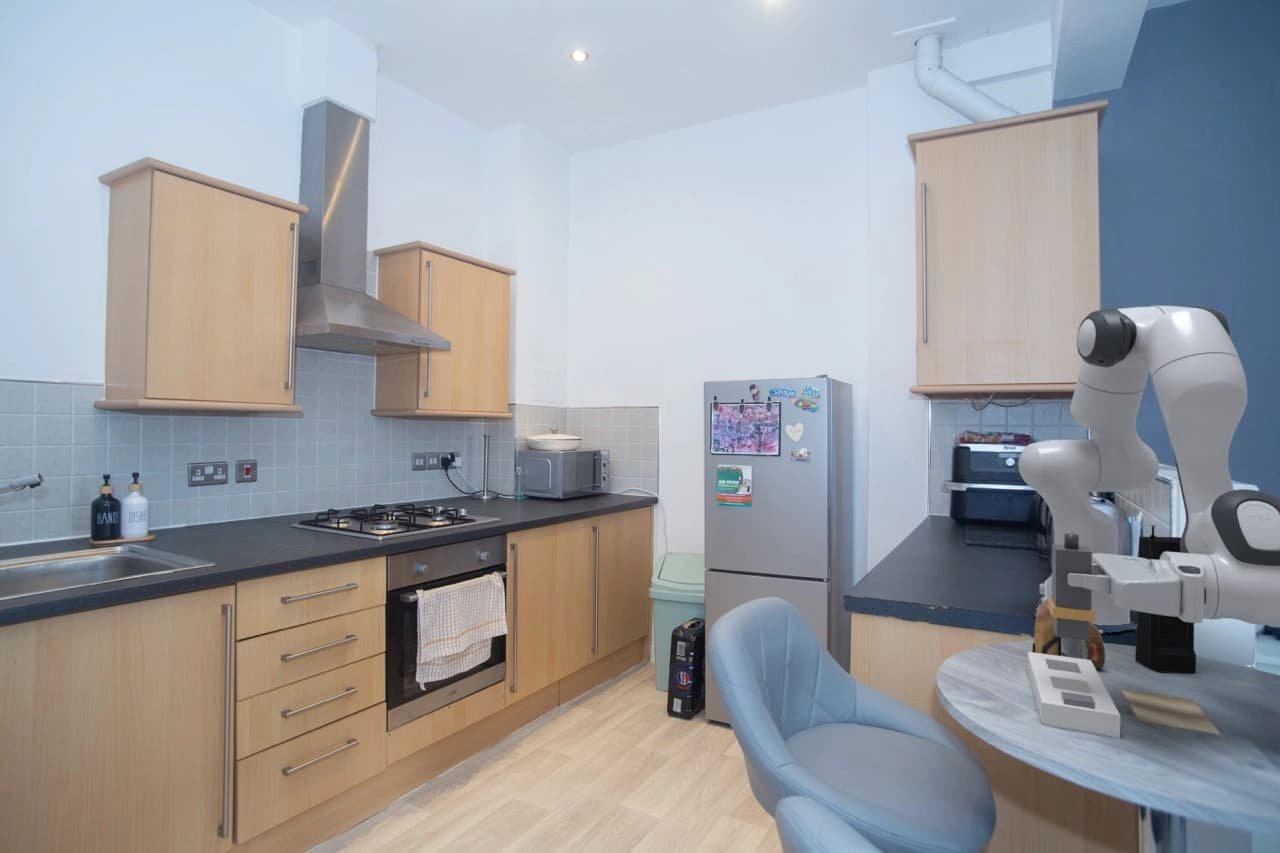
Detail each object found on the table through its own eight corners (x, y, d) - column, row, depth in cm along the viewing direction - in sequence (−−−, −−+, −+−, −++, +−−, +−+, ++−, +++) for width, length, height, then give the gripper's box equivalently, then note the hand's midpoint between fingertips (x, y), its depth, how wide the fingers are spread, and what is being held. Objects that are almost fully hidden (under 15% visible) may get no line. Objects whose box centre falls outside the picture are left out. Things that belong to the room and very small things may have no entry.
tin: (1106, 679, 110) (1107, 629, 110) (1085, 677, 111) (1086, 627, 111) (1067, 647, 125) (1068, 603, 125) (1049, 646, 126) (1049, 602, 126)
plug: (1048, 627, 102) (1049, 530, 101) (1088, 631, 99) (1089, 533, 99) (1052, 637, 97) (1053, 536, 97) (1094, 642, 95) (1095, 539, 94)
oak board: (1120, 695, 104) (1120, 689, 104) (1192, 706, 100) (1192, 699, 100) (1139, 727, 93) (1139, 720, 93) (1221, 741, 89) (1221, 734, 89)
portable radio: (1178, 661, 118) (1180, 522, 118) (1204, 674, 112) (1206, 528, 112) (1132, 659, 119) (1133, 521, 119) (1154, 672, 113) (1156, 527, 113)
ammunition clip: (1044, 676, 111) (1044, 606, 111) (1031, 673, 113) (1032, 603, 113) (1061, 660, 119) (1062, 594, 119) (1049, 657, 120) (1050, 592, 120)
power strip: (1027, 674, 112) (1027, 646, 112) (1090, 684, 108) (1090, 655, 108) (1041, 730, 92) (1042, 696, 92) (1119, 744, 88) (1120, 709, 88)
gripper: (1160, 547, 102) (1055, 540, 108) (1204, 578, 83) (1075, 567, 89) (1159, 588, 102) (1055, 578, 108) (1204, 627, 83) (1074, 613, 89)
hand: (1064, 574), depth 98 cm, fingers closed on plug, 4 cm apart
